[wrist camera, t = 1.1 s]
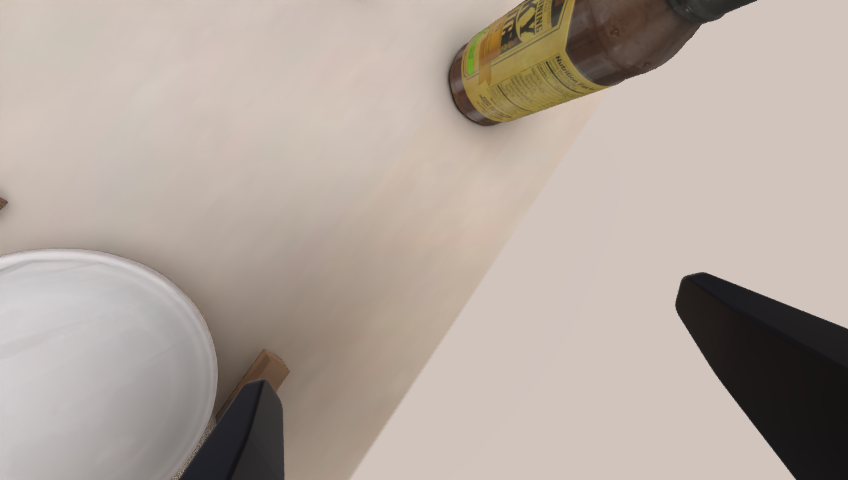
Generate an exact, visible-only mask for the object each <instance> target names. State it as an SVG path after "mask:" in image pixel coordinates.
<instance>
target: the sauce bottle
mask: <svg viewBox="0 0 848 480" xmlns="http://www.w3.org/2000/svg"><path fill="white" fill-rule="evenodd" d="M755 1H757V0H525V1H524V2H522V3H521V4H519V5H518V6H517V7H516V8H514V9H513V10H511V11H510V12H508V13H507V14H505V15H504V16H502V17H501V18H499V19H498V20H496V21H495V22H494V23H492V24H491V25H490V26H488V27H487V28H485V29H484V30H482V31H481V32H479V33H478V34H477V35H476V36H474V37H473V38H472V39H471V41H470V42H469V43H467V44H466V45H464V46H463V47H462V48H461V50H460V51H459V52H458V55H457V56H456V58H455V60H454V63H453V65H452V68H451V71H450V83H451V89H452V93H453V96H454V99H455V102H456V104H457V106H458V108H459V109H460V111H461V112H462V113H463V114H465V115H466V116H467V117H468V118H470V119H472V120H473V121H475V122H477V123H479V124H481V125H487V126H489V125H494V124H498V123H501V122H508V121H512V120H515V119H518V118H521V117H524V116H527V115H530V114H533V113H536V112H539V111H542V110H544V109H547V108H550V107H553V106H556V105H559V104H562V103H565V102H568V101H570V100H573V99H576V98H579V97H582V96H585V95H588V94H591V93H594V92H597V91H600V90H603V89H605V88H608V87H611V86H614V85H616V84H619V83H620V82H622V81H624V80H625V79H628V78H631V77H634V76H637V75H640V74H644V73H646V72H649V71H651V70H653V69H656V68H657V67H659V66H661V65H663V64H664V63H665V62H667V61H668V60H669V59H671V58H672V57H673V56H674V55H675V54H676V53H677V52H678V51H679V50H680V49H681V48H682V47H683V45H684V44H685V43H686V42H687V41H688V40H689V39H690V38H691V37H692V36H693V35H694V34H695V32H696V31H697V30H698V29H699V27H700V26H701V25H702V24H704V23H707V22H710V21H714V20H717V19H719V18H721V17H722V16H723V15H724V14H725V13H727V12H730V11H732V10H735V9H737V8H740V7H742V6H745V5H747V4H749V3H752V2H755Z"/></svg>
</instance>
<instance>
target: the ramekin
mask: <svg viewBox="0 0 848 480" xmlns="http://www.w3.org/2000/svg"><path fill="white" fill-rule="evenodd" d="M217 382H218V366H217V356H216V351H215V346H214V342H213V339H212V336H211V333H210V331H209V328H208V326H207V324H206V322H205V320H204V318H203V316H202V315H201V313H200V312H199V310H198V309H197V307H196V306H195V304H194V303H193V302H192V301H191V300H190V298H189V297H188V296H187V295H186V294H185V293H184V292H183V291H182V290H181V289H180V288H179V287H177V286H176V285H175V284H174V283H173V282H171V281H170V280H169V279H167V278H166V277H165V276H163V275H161V274H160V273H158V272H157V271H155V270H153V269H151V268H149V267H147V266H145V265H143V264H141V263H138V262H136V261H133V260H130V259H127V258H124V257H120V256H117V255H113V254H110V253H105V252H100V251H94V250H86V249H69V248H53V249H37V250H29V251H22V252H16V253H11V254H6V255H2V256H0V480H171V479H172V478H173V477H174V476H175V474H176V473H177V472H178V471H179V470H180V469H181V468H182V467H183V465H184V464H185V463H186V462H187V460H188V459H189V457H190V456H191V455H192V453H193V452H194V450H195V448H196V447H197V445H198V443H199V441H200V439H201V437H202V435H203V433H204V431H205V429H206V427H207V424H208V422H209V420H210V417H211V414H212V410H213V407H214V402H215V397H216V391H217Z"/></svg>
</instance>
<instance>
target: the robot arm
mask: <svg viewBox="0 0 848 480" xmlns="http://www.w3.org/2000/svg"><path fill="white" fill-rule="evenodd" d="M675 307H676V310H677V313H678V315H679V316H680V318H681V320H682V322H683V323H684V325H685V326H686V328H687V330H688V331H689V333H690V334H691V336H692V338H693V339H694V341H695V343H696V344H697V346H698V347H699V349H700V351H701V352H702V354H703V355H704V357H705V359H706V360H707V362H708V363H709V365H710V367H711V368H712V369H713V371H714V373H715V374H716V375H717V377H718V378H719V380H720V381H721V382H722V384H723V385H724V386H725V388H726V389H727V390H728V392H729V393H730V394H731V396H732V397H733V398H734V400H735V401H736V402H737V403H738V405H739V406H740V407H741V409H742V410H743V411H744V412H745V414H746V415H747V416H748V418H749V419H750V420H751V422H752V423H753V424H754V426H755V427H756V428H757V430H758V431H759V432H760V433H761V435H762V436H763V437H764V439H765V440H766V441H767V442H768V444H769V445H770V446H771V447H772V449H773V450H774V452H775V453H776V454H777V456H778V457H779V458H780V459H781V461H782V462H783V463H784V465H785V466H786V467H787V469H788V470H789V471H790V473H791V474H792V475H793V476H794V478H795V479H796V480H848V329H847V328H844V327H842V326H839V325H837V324H834V323H832V322H829V321H827V320H824V319H822V318H819V317H816V316H814V315H811V314H809V313H807V312H804V311H801V310H799V309H796V308H794V307H791V306H789V305H786V304H784V303H781V302H779V301H776V300H774V299H771V298H768V297H766V296H764V295H761V294H759V293H756V292H753V291H751V290H748V289H746V288H743V287H741V286H738V285H736V284H733V283H731V282H728V281H726V280H723V279H720V278H718V277H716V276H713V275H710V274H708V273H704V272H700V273H695V274H691V275H687V276H685V277H683V279H682V280H681V283H680V287H679V291H678V295H677V298H676V304H675ZM179 480H284V439H283V409H282V404H281V401H280V399H279V397H278V396H277V394H276V392H275V391H274V389H273V387H272V386H271V384H270V382H269V381H268V380H267V379H265V378H262V379H258V380H254V381H250V382H247V383H245V384H244V385H243V386H242V388H241V389H240V391H239V392H238V394H237V395H236V396H235V398H234V399H233V401H232V402H231V404H230V405H229V407H228V408H227V410H226V411H225V413H224V414H223V415H222V417H221V418H220V420H219V421H218V423H217V424H216V426H215V427H214V429H213V430H212V431H211V433H210V434H209V436H208V437H207V439H206V440H205V442H204V443H203V445H202V446H201V448H200V449H199V450H198V452H197V453H196V455H195V456H194V458H193V459H192V461H191V462H190V464H189V465H188V466H187V468H186V469H185V471H184V472H183V474H182V475H181V477H180V478H179Z"/></svg>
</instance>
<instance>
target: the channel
mask: <svg viewBox="0 0 848 480" xmlns="http://www.w3.org/2000/svg"><path fill="white" fill-rule="evenodd" d="M6 203H7V201H5V200H3V199H2V198H0V209H1V208H2V207H3V206H4V205H5V204H6ZM289 372H290V371H289V370H288V368H287V367H286V365H285V364H284V362H283V361H282V359H280V358H278V357H277V356H275V355H273V354H271V353H270V352H268V351H266V350H263V351H262V353H261V354H260V355H259V357H258V358H257V360H256V361H255V362H254V364H253V365H252V367H251V368H250V369H249V371H248V372H247V374H246V375H245V376H244V378H243V379H242V381H241V382H240V383H239V385H238V386H237V388H236V389H235V390H234V392H233V393H232V395H231V396H230V397H229V399H228V400H227V402H226V403H225V404H224V406H223V407H222V409H221V410H220V411H219V413H218V414H217V416H216V423H218V421H219V420H220V418H221V417H222V415H223V414H224V413H225V411H226V410H227V408H228V407H229V405H230V404H231V402H232V401H233V399H234V398H235V396H236V395H237V394H238V392H239V391H240V389H241V388H242V386H243V385H244V384H245V383H247V382H250V381H254V380H258V379H262V378H265V379H267V380H268V381H269V382H270V384H271V386H272V387H273V389H274V391H275V392H276V391H277V389H278V388H279V386H280V385H281V384H282V382H283V381H284V379H285V378H286V376H287V375H288V373H289Z"/></svg>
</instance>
